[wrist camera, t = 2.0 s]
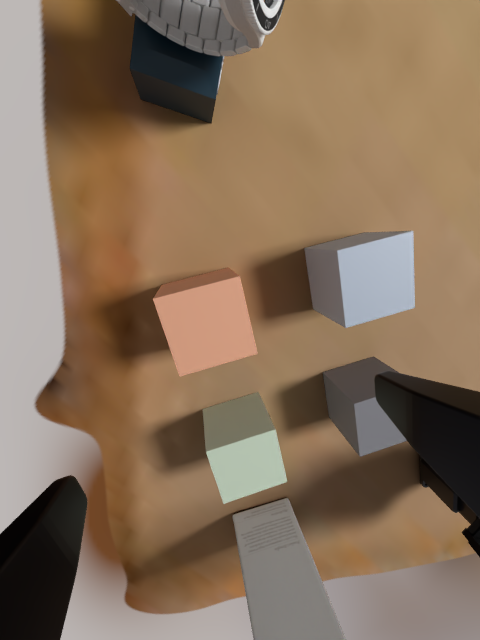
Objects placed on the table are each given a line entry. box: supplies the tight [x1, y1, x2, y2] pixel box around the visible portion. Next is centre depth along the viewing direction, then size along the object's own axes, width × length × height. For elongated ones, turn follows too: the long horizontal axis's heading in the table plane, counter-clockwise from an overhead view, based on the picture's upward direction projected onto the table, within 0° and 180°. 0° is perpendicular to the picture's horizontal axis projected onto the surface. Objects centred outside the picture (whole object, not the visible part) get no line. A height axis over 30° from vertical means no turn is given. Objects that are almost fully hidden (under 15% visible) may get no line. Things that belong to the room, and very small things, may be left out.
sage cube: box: [203, 392, 287, 504], centre depth 22 cm, size 5×5×5 cm
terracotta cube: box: [153, 268, 258, 376], centre depth 18 cm, size 5×5×5 cm
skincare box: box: [232, 498, 346, 640], centre depth 22 cm, size 6×4×12 cm
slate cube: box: [304, 231, 415, 328], centre depth 19 cm, size 5×5×5 cm
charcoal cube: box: [323, 357, 407, 457], centre depth 23 cm, size 5×5×5 cm
